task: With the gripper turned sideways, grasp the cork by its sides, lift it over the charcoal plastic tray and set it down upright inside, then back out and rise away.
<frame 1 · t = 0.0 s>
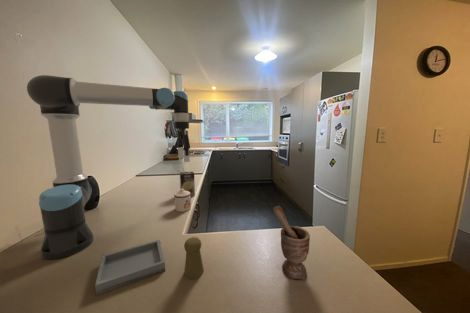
hand: (183, 160, 103), 28 cm above the countertop, tool pointing down, fingers open, 13 cm apart
coffee box: (187, 195, 126), on the countertop
cork: (194, 272, 59), on the countertop
mortar and pestle: (288, 269, 59), on the countertop
teacup with lid: (184, 207, 107), on the countertop
tray: (133, 266, 61), on the countertop
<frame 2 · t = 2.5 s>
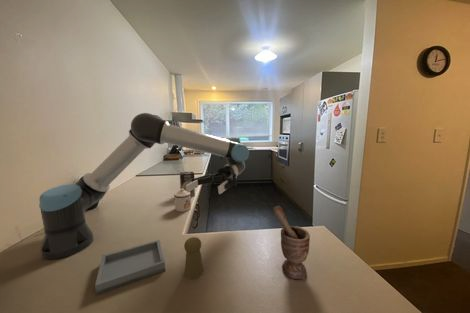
hand: (202, 189, 66), 23 cm above the countertop, tool horizontal, fingers open, 13 cm apart
nothing on the countertop moved.
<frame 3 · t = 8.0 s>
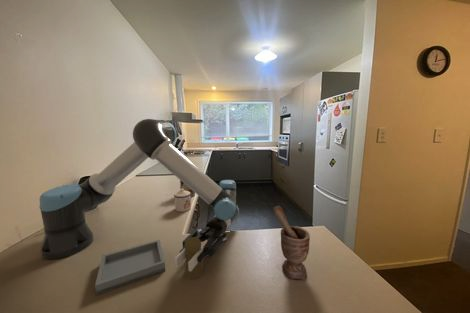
hand: (182, 264, 53), 7 cm above the countertop, tool horizontal, fingers closed on cork, 4 cm apart
cork: (194, 272, 59), on the countertop, touching gripper
everything else where it was.
when the fingers open (8 cm above the countertop, at t = 13.0 s): cork moves 3 cm, resting on tray.
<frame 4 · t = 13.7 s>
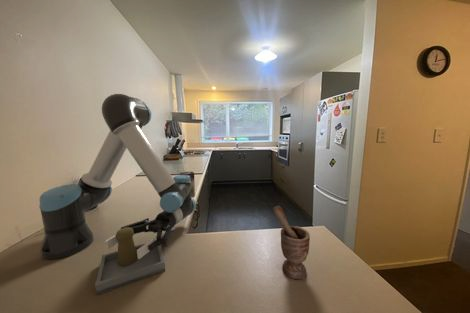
hand: (121, 249, 57), 8 cm above the countertop, tool horizontal, fingers open, 13 cm apart
cork: (127, 260, 63), point 1 cm above the countertop, touching tray
everything else where it was.
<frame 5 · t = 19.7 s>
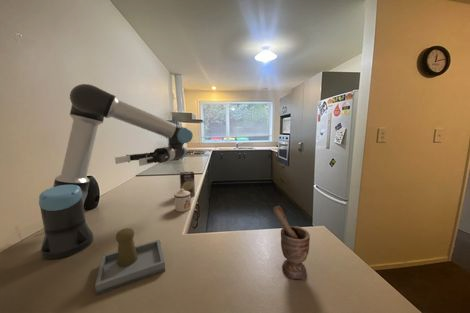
hand: (127, 161, 76), 32 cm above the countertop, tool horizontal, fingers open, 13 cm apart
nothing on the countertop moved.
at the end: cork inside the target area on the tray (3.3 cm from its centre), point 0.8 cm above the tray's base; cork tilted 0°; the gripper is holding nothing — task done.
